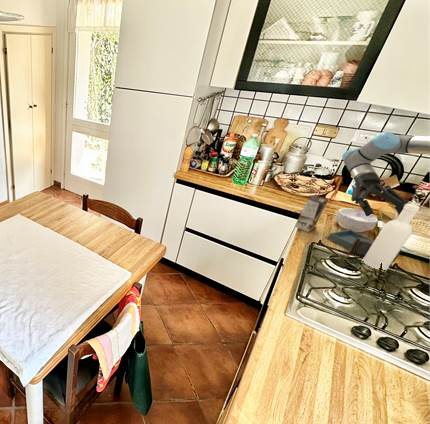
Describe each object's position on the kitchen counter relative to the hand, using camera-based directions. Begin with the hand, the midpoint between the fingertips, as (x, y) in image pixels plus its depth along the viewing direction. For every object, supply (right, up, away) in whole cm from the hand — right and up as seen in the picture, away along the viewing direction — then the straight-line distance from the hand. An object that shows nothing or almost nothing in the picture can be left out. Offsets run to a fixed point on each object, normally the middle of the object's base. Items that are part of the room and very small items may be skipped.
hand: (388, 216), depth 124 cm
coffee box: (-6, -6, +34) cm, 35 cm away
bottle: (-1, -22, +5) cm, 23 cm away
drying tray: (+6, -13, +21) cm, 26 cm away
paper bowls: (+18, -7, +34) cm, 39 cm away
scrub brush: (+2, -19, +10) cm, 22 cm away
